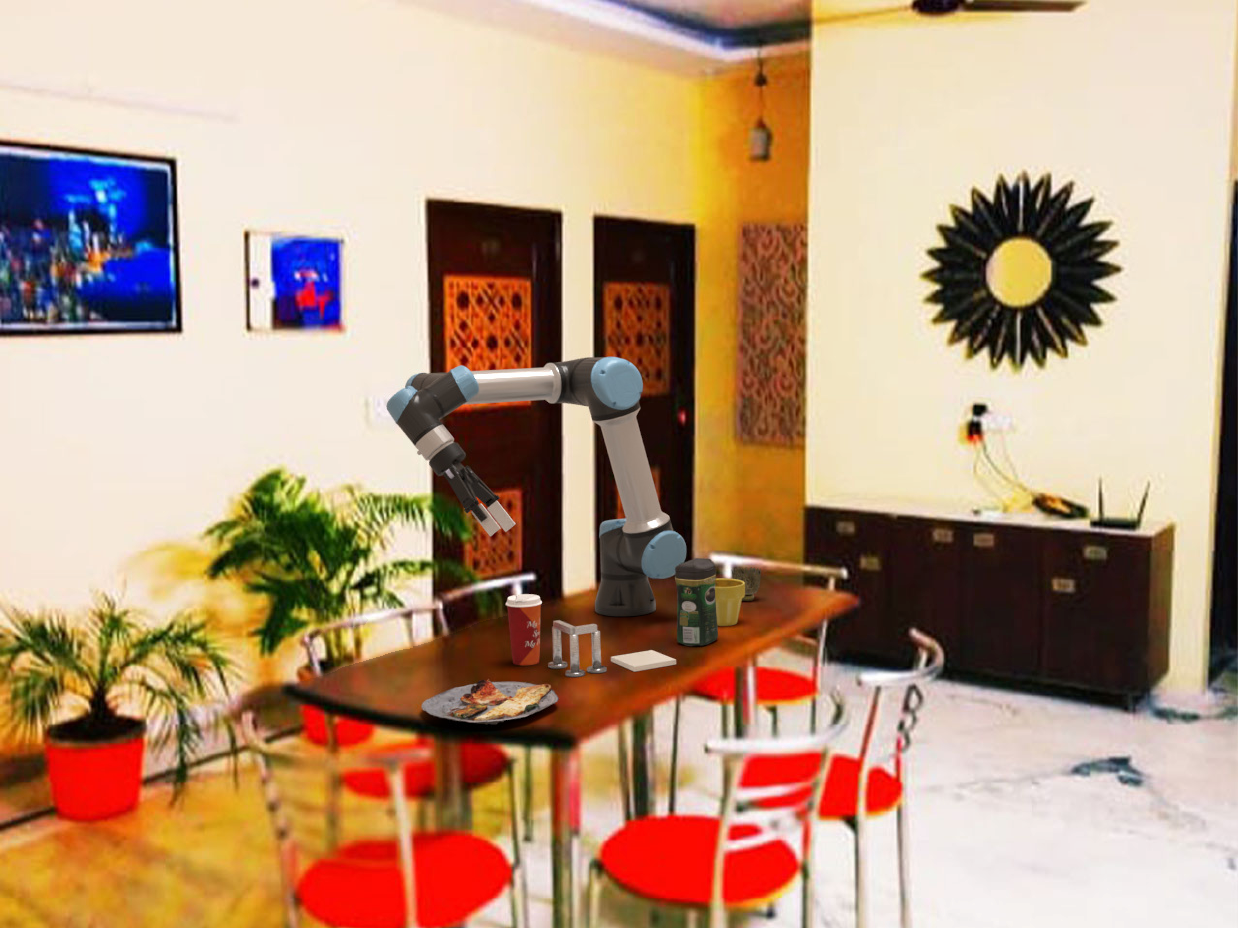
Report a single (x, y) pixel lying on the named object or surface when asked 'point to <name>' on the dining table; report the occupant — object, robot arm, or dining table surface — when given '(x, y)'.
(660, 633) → the dining table surface
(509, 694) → the food plate
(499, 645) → the dining table surface
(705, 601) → the coffee jar
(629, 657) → the cream tile
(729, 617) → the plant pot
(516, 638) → the paper cup
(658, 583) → the dining table surface
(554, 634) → the bent rail
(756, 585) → the cup
